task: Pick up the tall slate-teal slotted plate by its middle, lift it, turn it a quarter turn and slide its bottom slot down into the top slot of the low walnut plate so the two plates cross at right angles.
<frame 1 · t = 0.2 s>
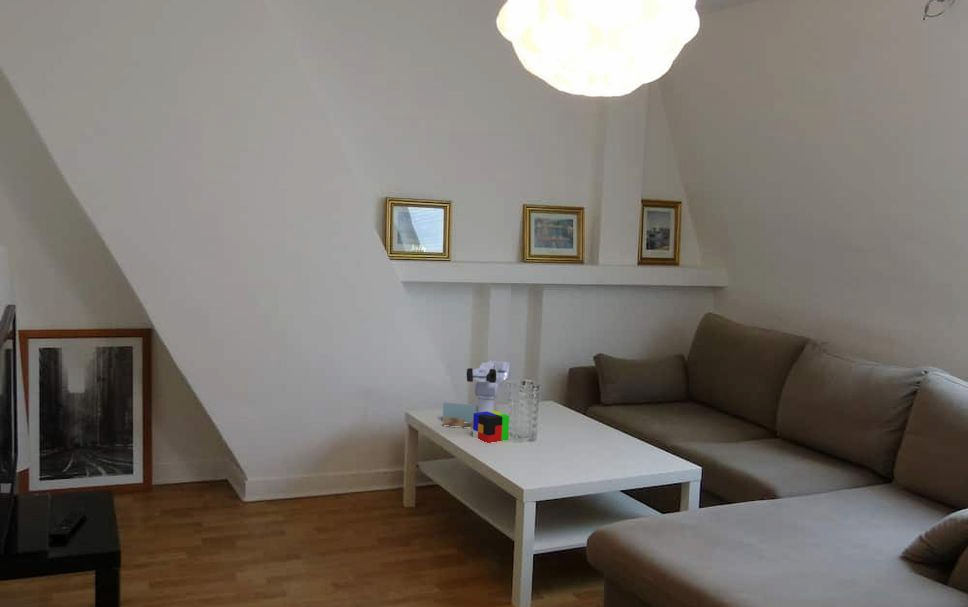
hand: (477, 378, 373), 21 cm above the table, tool horizontal, fingers open, 7 cm apart
teal slotted plate: (459, 422, 384), on the table
walnut slotted plate: (467, 427, 376), on the table
puzzle toy: (490, 439, 360), on the table
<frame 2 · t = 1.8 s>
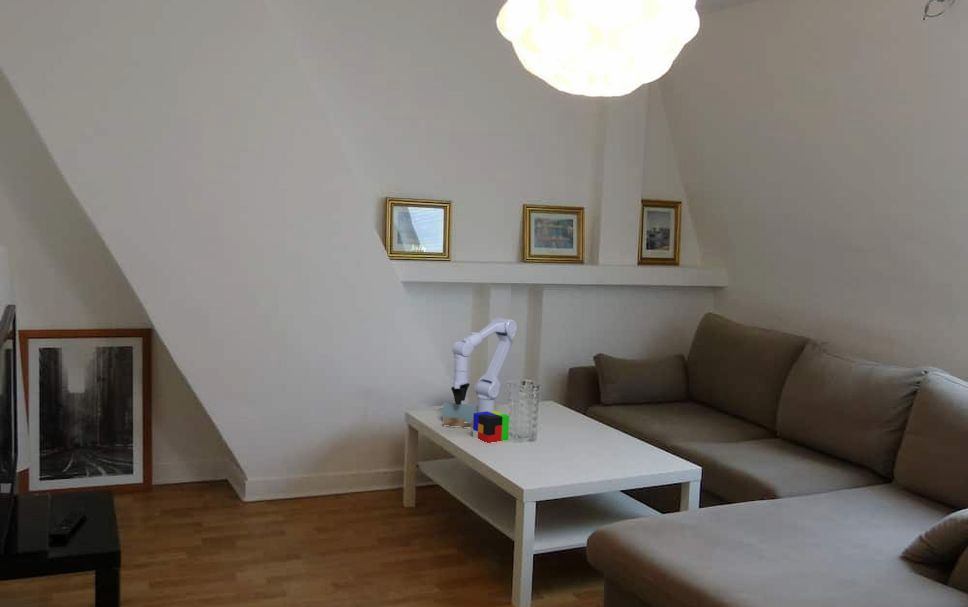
hand: (460, 402, 383), 9 cm above the table, tool pointing down, fingers open, 7 cm apart
nothing on the table moved.
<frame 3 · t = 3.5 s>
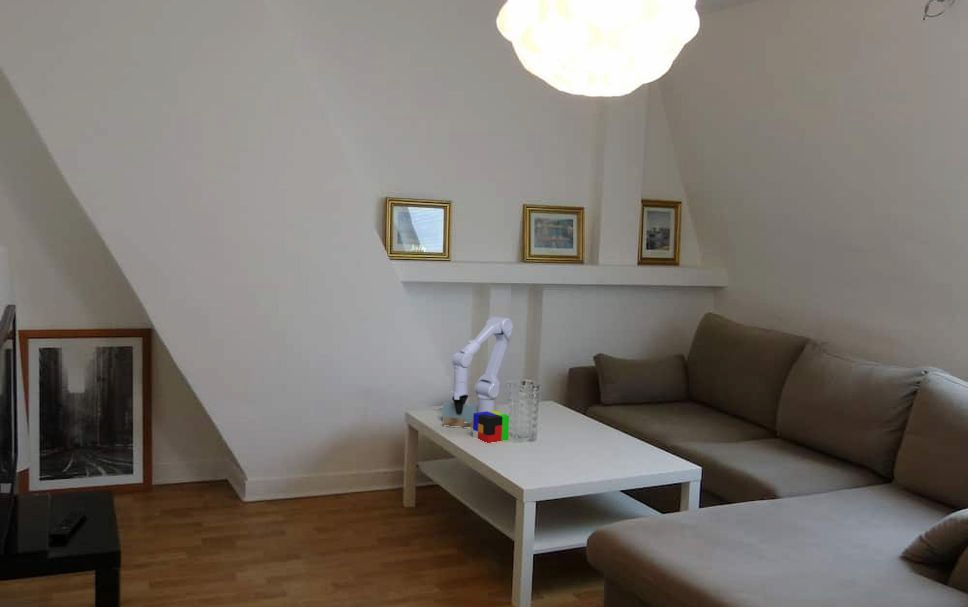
hand: (459, 413, 383), 4 cm above the table, tool pointing down, fingers closed on teal slotted plate, 2 cm apart
teal slotted plate: (459, 422, 384), on the table, touching gripper
everything else where it was.
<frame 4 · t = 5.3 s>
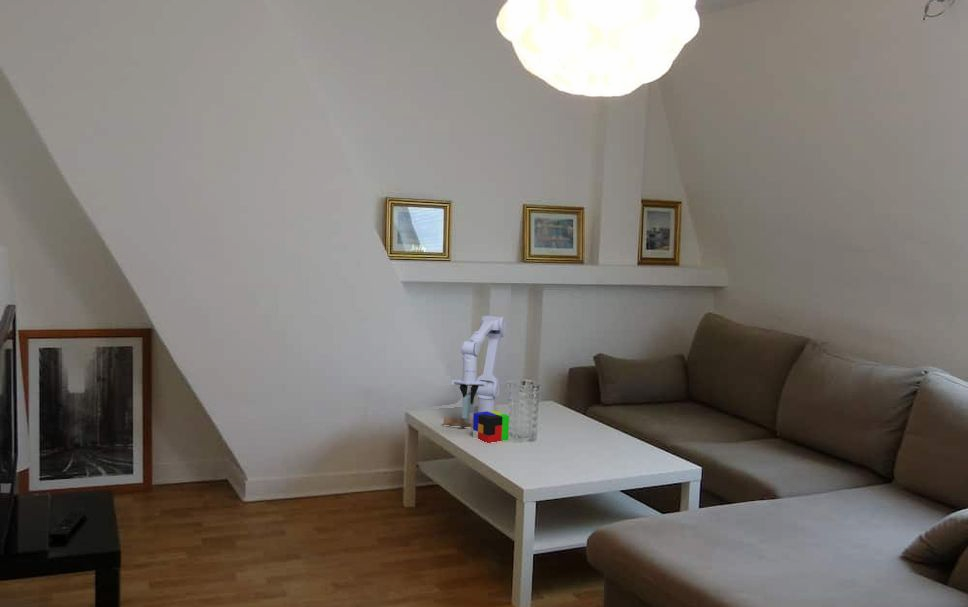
hand: (468, 403, 375), 10 cm above the table, tool pointing down, fingers closed on teal slotted plate
teal slotted plate: (468, 414, 375), point 6 cm above the table, touching gripper
everything else where it was.
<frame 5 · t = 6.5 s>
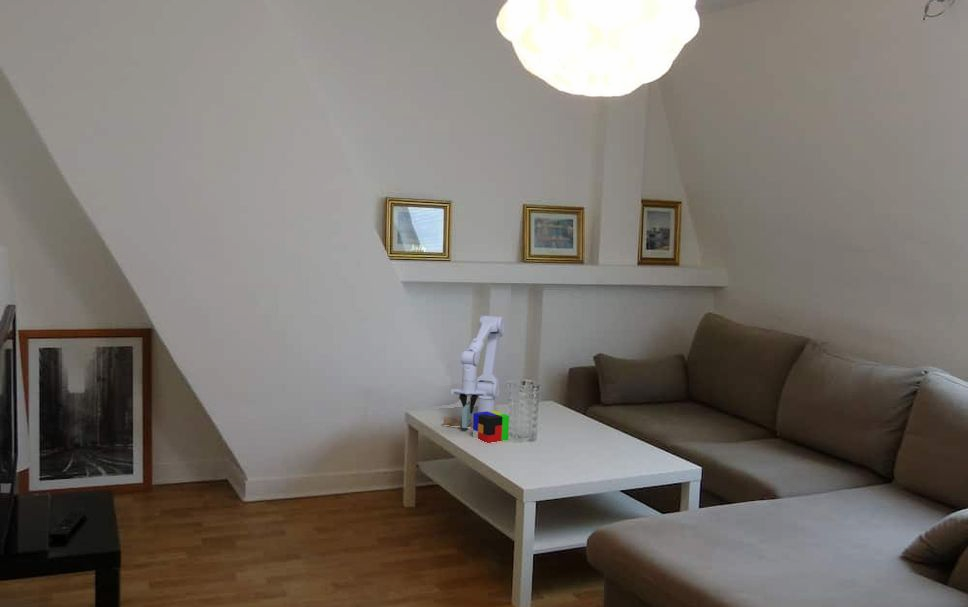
hand: (468, 412, 375), 6 cm above the table, tool pointing down, fingers closed on teal slotted plate, 2 cm apart
teal slotted plate: (467, 423, 375), point 2 cm above the table, touching gripper
everything else where it was.
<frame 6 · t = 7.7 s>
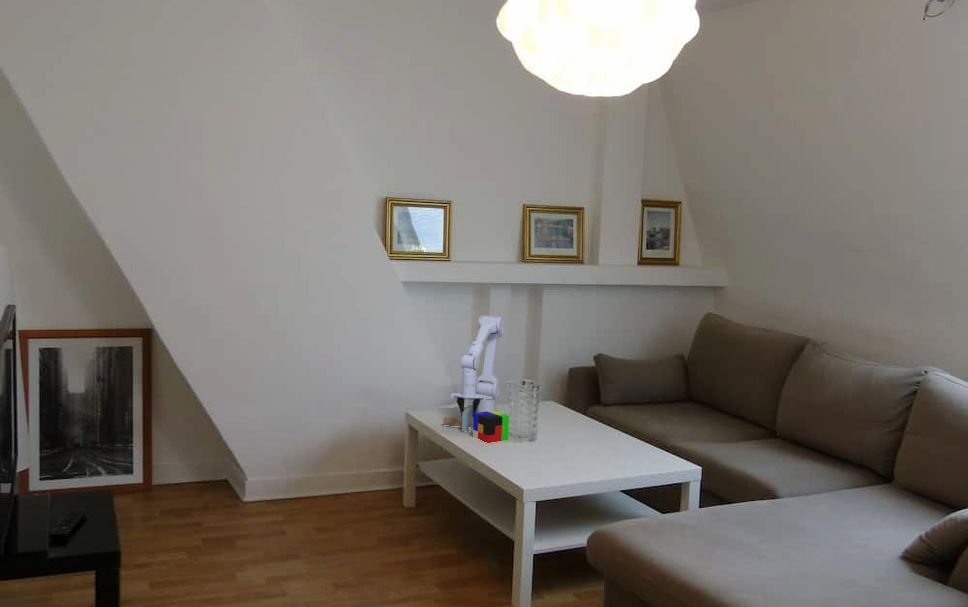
hand: (468, 416, 375), 5 cm above the table, tool pointing down, fingers open, 4 cm apart
teal slotted plate: (467, 428, 376), on the table, touching walnut slotted plate
everything else where it was.
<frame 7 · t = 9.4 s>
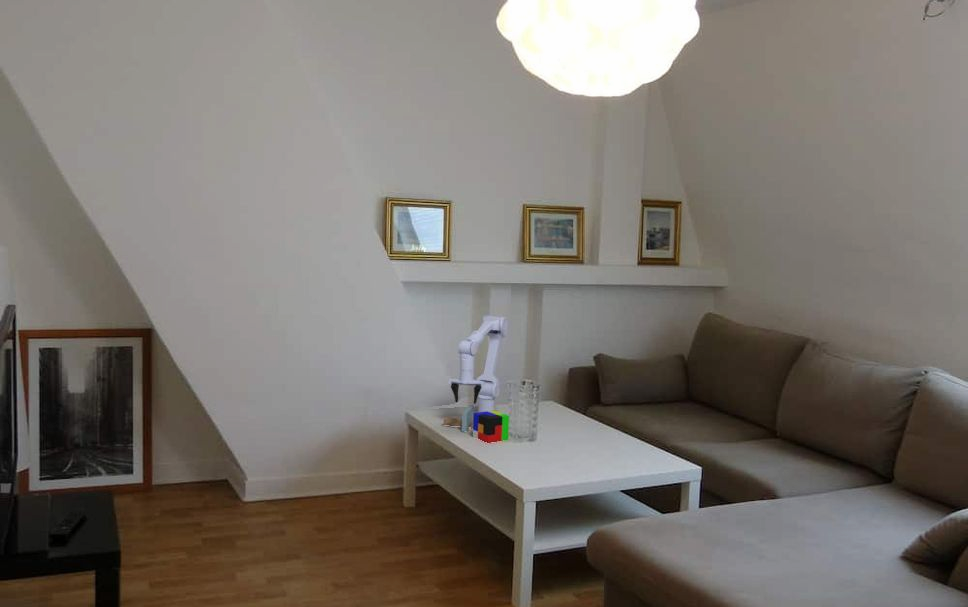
hand: (465, 402, 376), 10 cm above the table, tool pointing down, fingers open, 7 cm apart
nothing on the table moved.
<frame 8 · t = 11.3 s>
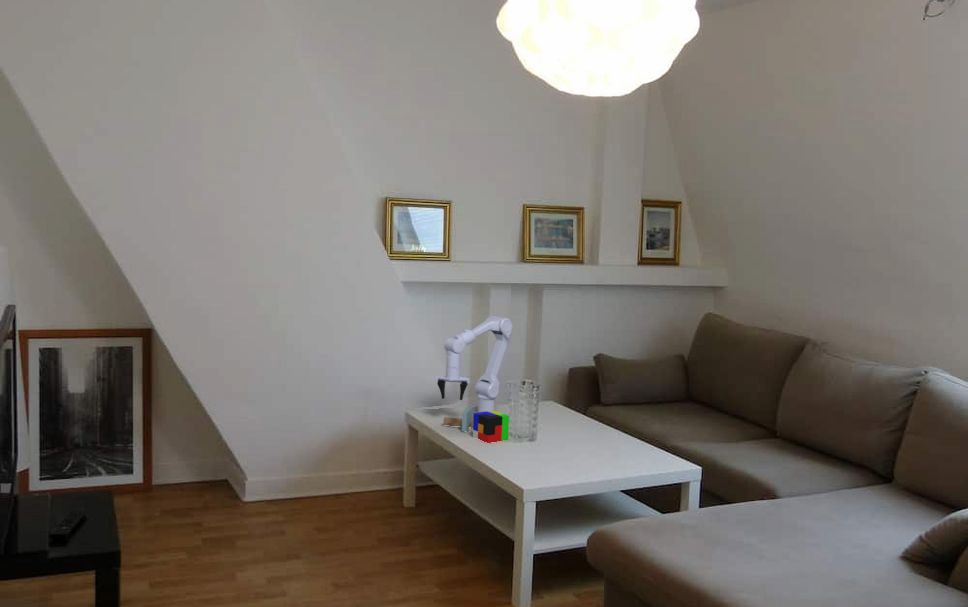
hand: (452, 399, 381), 10 cm above the table, tool pointing down, fingers open, 7 cm apart
nothing on the table moved.
at the end: teal slotted plate 0.3 cm off-centre on the walnut slotted plate, point 0.0 cm above the walnut slotted plate's base; teal slotted plate tilted 0°; the gripper is holding nothing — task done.
